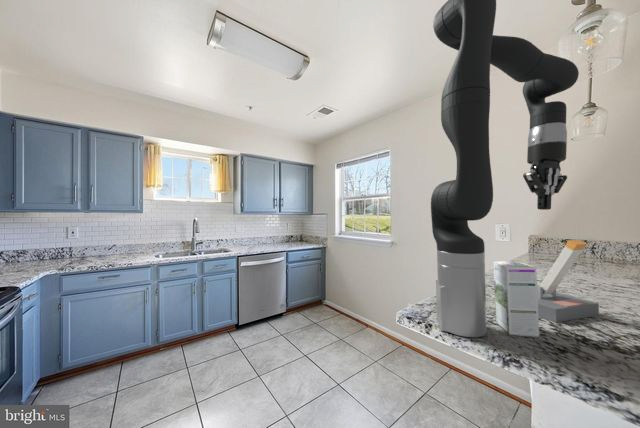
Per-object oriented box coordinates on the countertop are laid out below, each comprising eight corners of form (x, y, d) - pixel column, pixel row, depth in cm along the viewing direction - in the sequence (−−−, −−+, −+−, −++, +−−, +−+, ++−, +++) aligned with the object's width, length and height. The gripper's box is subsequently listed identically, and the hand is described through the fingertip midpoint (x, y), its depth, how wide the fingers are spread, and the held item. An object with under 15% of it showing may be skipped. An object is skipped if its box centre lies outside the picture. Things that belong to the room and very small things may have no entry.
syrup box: (540, 337, 49) (539, 266, 49) (508, 335, 50) (506, 265, 50) (523, 324, 54) (521, 261, 54) (493, 323, 55) (492, 260, 55)
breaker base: (498, 301, 69) (497, 280, 69) (535, 296, 72) (535, 276, 72) (555, 322, 55) (555, 296, 55) (598, 315, 58) (598, 290, 58)
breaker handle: (535, 290, 64) (568, 240, 57) (545, 289, 65) (578, 239, 58) (542, 295, 62) (577, 244, 55) (552, 294, 63) (587, 243, 56)
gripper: (544, 137, 58) (542, 208, 58) (582, 143, 61) (579, 210, 61) (512, 145, 65) (510, 208, 65) (547, 150, 68) (545, 210, 69)
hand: (544, 209), depth 63 cm, fingers closed
